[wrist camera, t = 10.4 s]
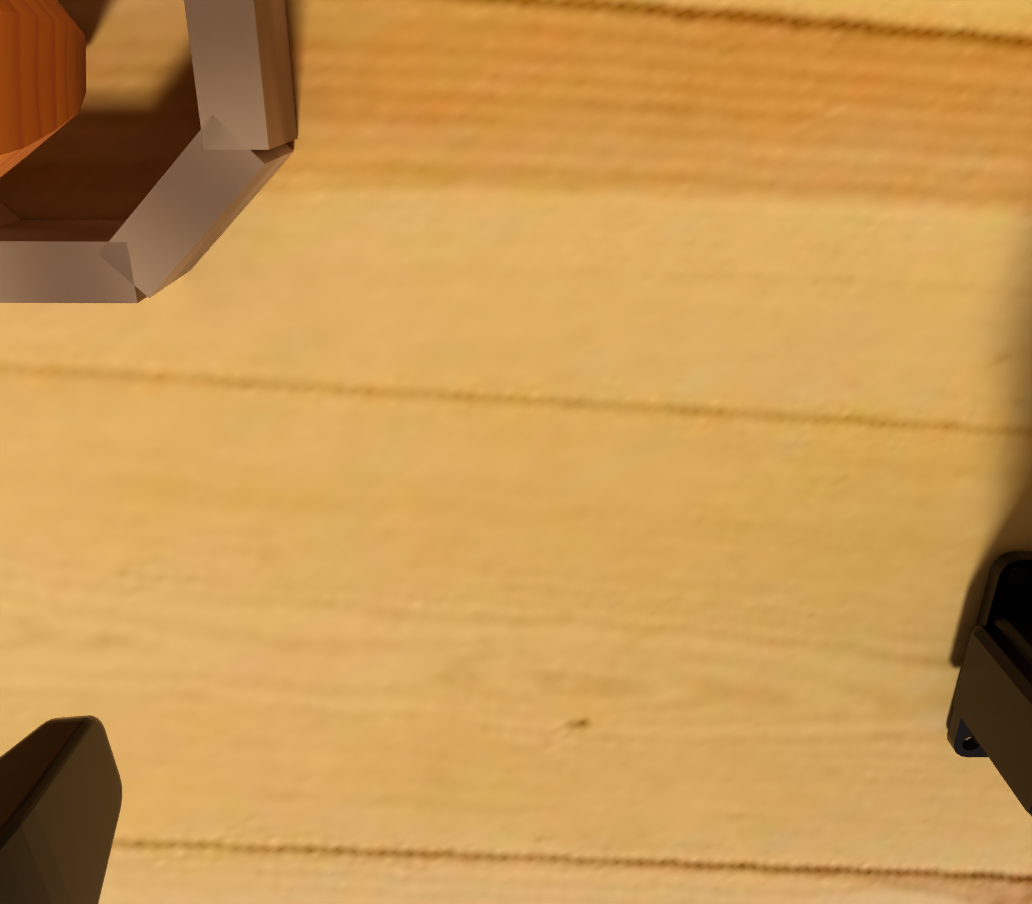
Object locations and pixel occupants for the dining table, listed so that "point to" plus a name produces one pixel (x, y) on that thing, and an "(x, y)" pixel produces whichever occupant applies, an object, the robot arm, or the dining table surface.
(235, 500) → the dining table surface
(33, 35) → the carrot
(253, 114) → the bead ring
